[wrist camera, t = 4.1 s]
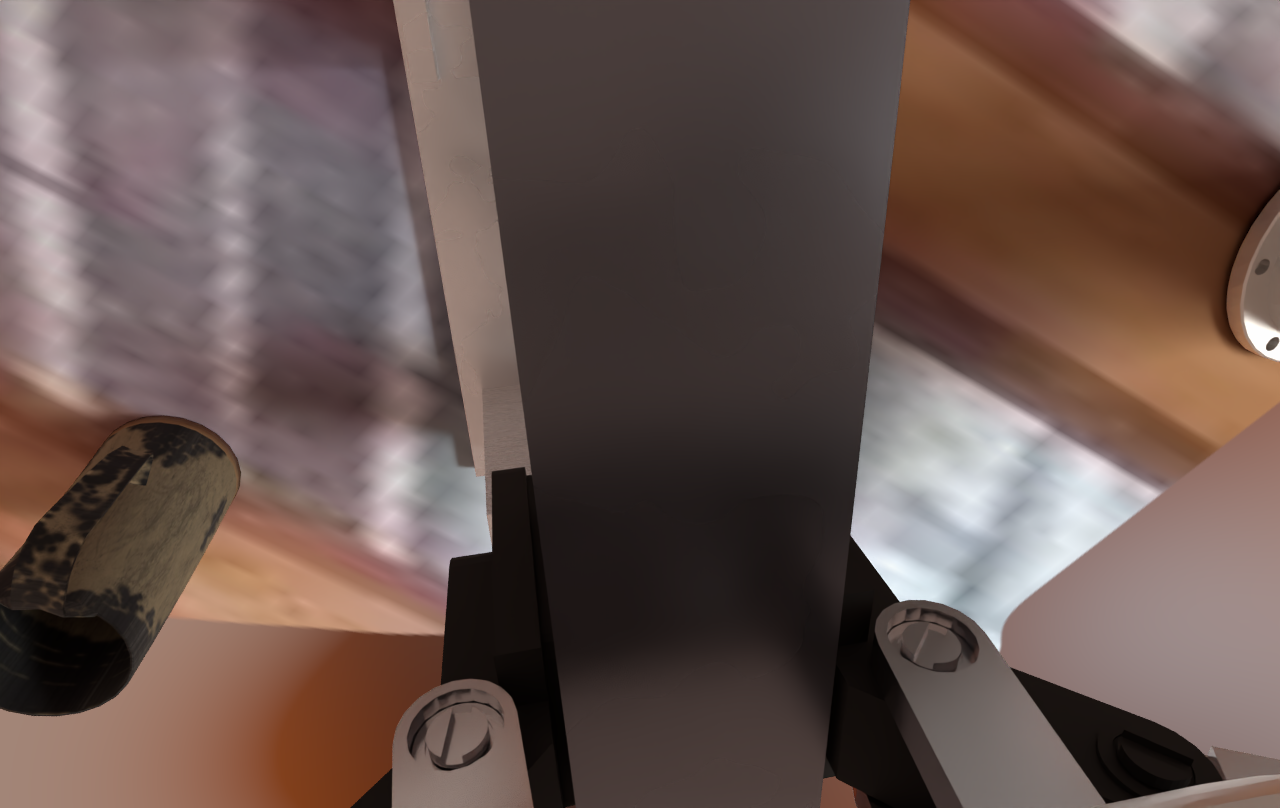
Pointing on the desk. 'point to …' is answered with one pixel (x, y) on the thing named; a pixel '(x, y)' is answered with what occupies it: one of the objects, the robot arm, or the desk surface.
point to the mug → (110, 565)
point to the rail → (693, 365)
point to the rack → (465, 226)
